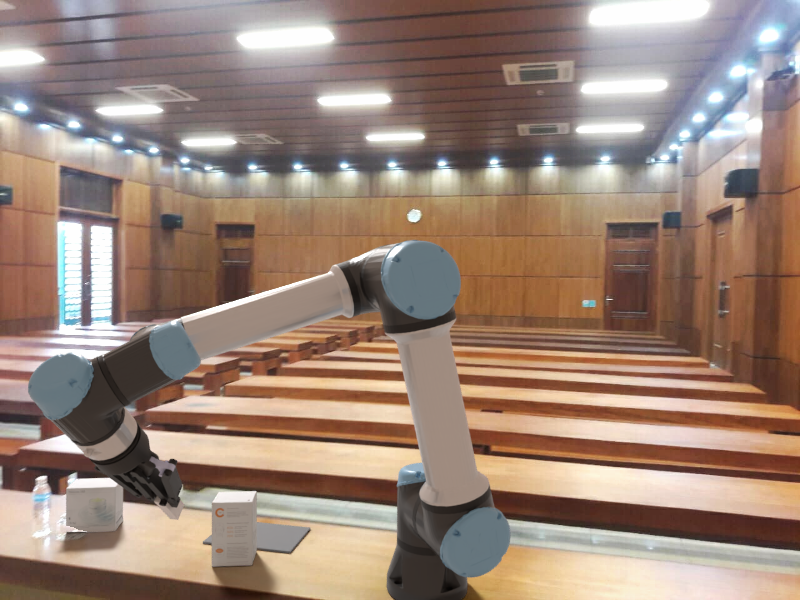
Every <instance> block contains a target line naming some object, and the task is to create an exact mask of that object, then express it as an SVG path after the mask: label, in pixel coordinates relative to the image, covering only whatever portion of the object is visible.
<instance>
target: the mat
mask: <svg viewBox="0 0 800 600" xmlns="http://www.w3.org/2000/svg"><path fill="white" fill-rule="evenodd" d="M308 531H311V527H307V526H301V525H290V524H288V525H287V524H279V523H270V522H262V521H257V551H266V552H268V551H269V552H275V553H282V554H283V553H284V554H285V553H286V554H291V553H292V552H293V551H294V550H295V548H296V547H297V546H298V545H299V544H300V543H301V541H302V540H303V539H304V538H305V536H306V535H307V534H308V533H309V532H308ZM202 544H203V545H204V544H205V545H212V534H211V535H209V536H208V537H206V538H205V539H204V540H203V541H202Z"/></svg>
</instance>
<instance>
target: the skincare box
mask: <svg viewBox="0 0 800 600" xmlns="http://www.w3.org/2000/svg"><path fill="white" fill-rule="evenodd" d="M65 489H66V491H65V492H66V493H65V495H66V497H65V500H66V502H65V506H66V507H65V518H66V519H65V527H66V526H70V527H74V528H76V529H78V530H83V531H87V532H86V533H104V532H106V533H108V532H109V533H110V532H116V531H117V530H118V528H119V526H121V524H122V523H123V522H124V514H123V513H124V488H123V487H122V486H120V485H119V484H117V483H116V482H115V481H113V480H112V479H110V478H109V477H97V478H96V477H95V478H92V477H91V478H75V479H74V480H73V481H72V482H71V483H70V484H69V485H68V486H67V487H66V488H65Z"/></svg>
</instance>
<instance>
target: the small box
mask: <svg viewBox="0 0 800 600" xmlns="http://www.w3.org/2000/svg"><path fill="white" fill-rule="evenodd" d="M257 497H258V496H257V491H256V490H252V491H250V490H247V491H243V490H242V491H218V492H217V494H216V496H215V498H214V499H213V500H212V502H211V535H212V544H211V567H212V568H213V567H216V568H217V567H238V566H239V567H240V566H253V563H254V560H255V558H256V554H257V551H258V550H257V522H258V517H257V516H258V515H257V513H258V502H257V500H258V498H257Z"/></svg>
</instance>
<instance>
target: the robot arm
mask: <svg viewBox="0 0 800 600" xmlns="http://www.w3.org/2000/svg"><path fill="white" fill-rule="evenodd" d="M461 279H462V278H461V274H460V269H459V266H458V263H456V260H455V259H454V258H453V255H451V254H450V252H449V251H447V250H446V249H445V248H443V247H442V246H440V245H439V244H436V243H435V242H432V241H427V240H418V239H409V240H405V241H402V242H401V241H400V242H396V243H391V244H384V245H380V246H377V247H376V248H373V249H371V250H369V251H366V252H365V253H362V254H360V255H358V256H356V257H353V258H350V259H348V260H346V261H343V262H339V263H336V264H333V265H331V268H330V269H329V271H328V272H327V273H324V274H319V275H317V276H316V275H315V276H312V277H311V278H307V279H303V280H300V281H297V282H296V281H295V282H293V283H291V284H287V285H284V286H279V287H277V288H274V289H271V290H266V291H264V292H261V293H257V294H254V295H250V296H247V297H244V298H240V299H237V300H234V301H230V302H228V303H224V304H220V305H217V306H214V307H211V308H207V309H205V310H201V311H198V312H195V313H191V314H188V315H183V316H181V317H180V318H175V319H172V320H168V321H165V322H161V323H158V324H150V325H146V326H143V327H141V328H139V329H138V330H137V331H135V332H134V333H133V334H132V336H131V338H130V339H129V340H128V341H127V342H125V343H122V344H121V345H119V346H118V347H115V348H114V349H112V350H110V351H108V352H106V353H102V354H101V355H99V356H96V357H94V358H92V359H90V360H89V359H88V358H87V357H84V356H83V355H82V354H80V353H76V352H67V353H65V354H63V353H59V354H56V355H54V356H52V357H50V358H48V359H46V360H45V361H44V362H42V363H41V364H40V365H38V367H37V368H36V369H35V370H34V371H33V372H32V374H31V376H30V378H29V380H28V383H27V386H28V387H27V393H28V395H29V397H30V398H31V400H32V401H33V402H34V403H35V404H36V406H37V407H38V408H39V410H40V411H41V412H42V415H43V416H44V417H45V419H46V418H47V420H49V421H51V422H52V423H53V425H55V427H57V428H58V429H59V430H60V431H61V432H62V433H63V434H64V435H65V436H66V437H67V438H68V439H69V440H70V441H71V442H72V443H74V445H76V447H77V448H78V449H79V450H80V451H82V453H83V456H84V457H86V458H88V459H89V461H90V462H91V463H93V464H94V465H95V466H94V468H93V470H95V471H96V472H99V473H100V474H103V475H104V476H106V477H107V478H110V479H112V480H113V481H115V482H116V483H117V484H119V485H120V486H122V487H123V490H126V491H127V492H129V493H130V494H131V495H132V496H134V497H136V498H138V499H140V498H142V497H144V498H145V499H146V500H148V501H152V502H153V503H154V504H155V505H156V506H157V507H158V508H159V509H160V510H161V511H162V512H163V513H164V514H165V515H166V517H168V519H169V520H176V521H179V519H180V516H181V514H182V512H183V509H184V506H185V503H184V502H183V501H182V500H181V497H180V494H181V491H182V489H183V487H184V486H183V483H182V480H181V477H180V474H179V472H178V469H177V464H178V460H177V459H175V458H170V459H169V460H165V461H164V460H162V459H160V456H159V455H158V454H157V453H155V452H154V451H152V450H151V447H150V439H149V436H148V434H147V433H146V431H144V429H143V428H142V427H141V425H140V424H139V423H138V421H136V419H135V418H134V416H133V415H132V414H131V412H130V411H129V410H128V409H127V408H126V407H128V406H129V405H132V404H133V403H134V402H136V401H138V400H140V399H142V398H144V397H146V396H148V395H150V394H153V393H154V392H156V391H158V390H160V389H162V388H164V387H166V386H167V385H170V384H171V383H174V382H175V381H178V380H179V381H180V380H182V379H183V378H184V377H185V376H186V375H188V374H190V373H191V372H193V371H195V370H196V369H198V368H199V367H200V366H201V364H202V363H201V362H202V361H203V360H206V359H210V358H213V357H215V356H220V355H222V354H225V353H228V352H231V351H234V350H237V349H240V348H243V347H247V346H250V345H253V344H256V343H259V342H263V341H264V340H267V339H272V338H273V337H277V336H281V335H284V334H286V333H290V332H293V331H296V330H298V329H302V328H305V327H308V326H310V325H313V324H317V323H320V322H323V321H326V320H327V321H328V320H329V319H333V318H335V317H339V316H344V317H345V318H347V319H350V318H354V317H357V316H360V315H364V314H370V313H380V317H381V323H382V326H383V332H384V334H385V335H386V336H387V337H389V338H391V340H394V341H395V343H396V346H397V351H398V355H399V361H400V364H401V370H402V374H403V380H404V382H405V383H404V384H405V388H406V393H407V399H408V402H409V406H410V407H409V408H410V411H411V416H412V417H411V418H412V421H413V426H414V431H415V437H416V440H417V445H418V450H419V454H420V459H421V462H416V463H414V462H413V463H410V464H407V465H404V466H402V467H400V470H399V471H398V474H397V475H398V476H397V477H398V478H397V484H396V488H397V489H396V490H397V491H396V494H397V495H396V499H397V501H396V503H397V504H396V507H397V508H396V546H395V549H394V551H393V554H392V557H391V561H390V563H389V566H388V570H387V572H386V573H387V574H386V590H387V592H388V594H389V595H390V596H391V597H392V598H393V599H395V600H463V599H464V598H465V597H466V595H467V593H468V578H478V577H481V576H484V575H486V574H488V573H490V572H491V571H492V570H494V569H495V568H497V566H499V564H500V563H501V562H502V559H503V557H504V555H506V554H507V552H508V549H509V547H510V543H511V536H512V535H511V526H510V523H509V521H508V520H507V518H506V516H505V515H504V513H503V512H502V511H501V510H500V509H498V508H496V506H495V504H494V498H493V495H492V489H491V484H490V481H489V478H488V477H487V475H485V474H484V473H482V472H481V471H479V470H478V467H477V463H476V458H475V453H474V449H473V443H472V438H471V432H470V427H469V423H468V418H467V412H466V408H465V402H464V397H463V393H462V388H461V382H460V378H459V373H458V368H457V364H456V363H457V362H456V357H455V354H454V348H453V343H452V339H451V333H450V330H451V329H452V327H453V326H454V324H455V323H456V321H457V313H456V308H455V304H456V302H457V301H456V300H457V298H458V297H459V296H460V293H461V288H462V287H461V286H462V285H461V284H462V281H461Z"/></svg>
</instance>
